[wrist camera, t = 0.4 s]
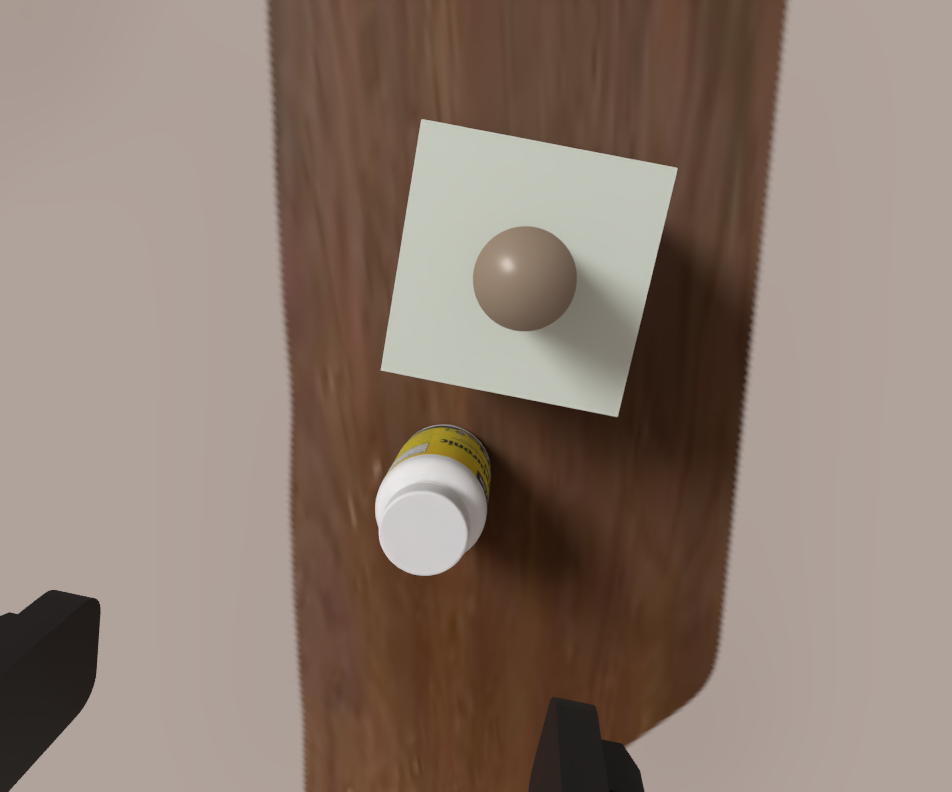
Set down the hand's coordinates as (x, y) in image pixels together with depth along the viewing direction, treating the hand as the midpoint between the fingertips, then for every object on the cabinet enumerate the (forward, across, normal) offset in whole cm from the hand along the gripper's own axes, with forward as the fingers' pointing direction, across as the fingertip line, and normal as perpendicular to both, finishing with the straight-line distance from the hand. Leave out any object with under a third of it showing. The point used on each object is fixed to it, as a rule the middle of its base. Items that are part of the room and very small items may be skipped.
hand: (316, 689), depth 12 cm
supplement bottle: (+28, 0, +6) cm, 28 cm away
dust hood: (+27, -2, -6) cm, 28 cm away
